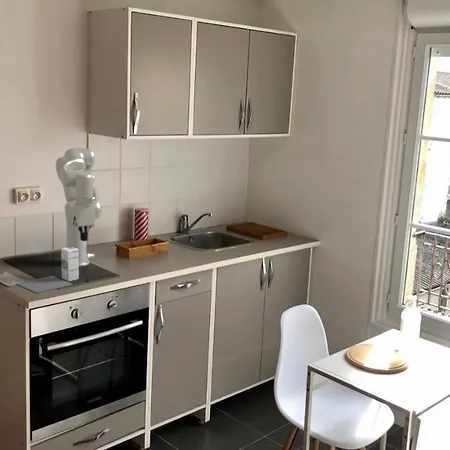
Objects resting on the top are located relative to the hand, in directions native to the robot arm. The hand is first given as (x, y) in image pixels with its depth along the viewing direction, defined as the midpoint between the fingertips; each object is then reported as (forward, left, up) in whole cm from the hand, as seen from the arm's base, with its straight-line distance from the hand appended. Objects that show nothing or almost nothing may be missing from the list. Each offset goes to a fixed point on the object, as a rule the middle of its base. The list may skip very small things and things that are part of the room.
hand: (84, 240), depth 284 cm
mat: (+20, 0, -17) cm, 27 cm away
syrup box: (+7, 0, -17) cm, 19 cm away
